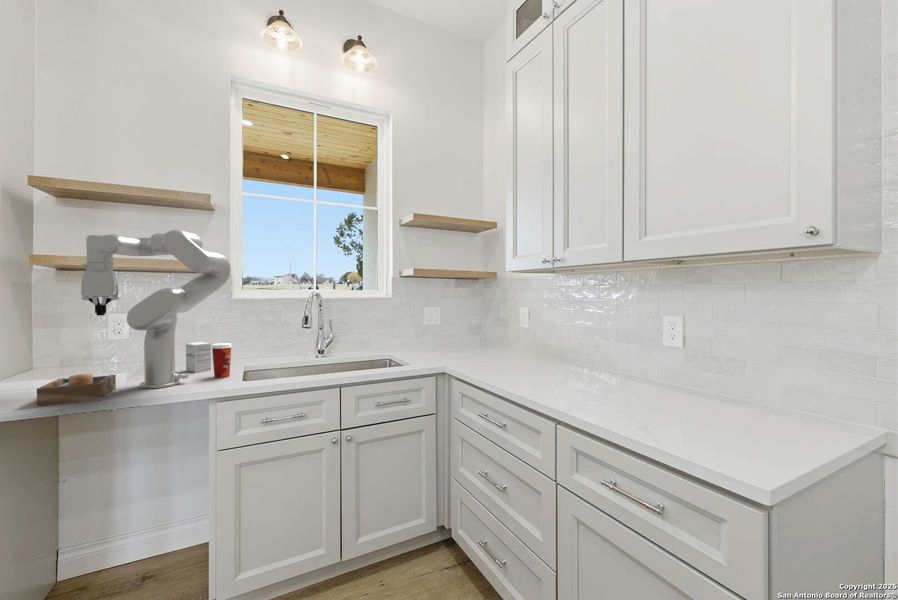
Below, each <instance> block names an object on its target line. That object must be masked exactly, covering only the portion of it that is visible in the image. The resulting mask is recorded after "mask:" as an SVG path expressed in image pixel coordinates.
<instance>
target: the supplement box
mask: <svg viewBox="0 0 898 600" xmlns="http://www.w3.org/2000/svg"><path fill="white" fill-rule="evenodd" d="M211 347H212V343H211V342H204V341H197V342H196V341H195V342H190V343H189V342H188V343H186V344H185V371H186V372H192V373H200V372H205V371H211V370H212V348H211Z"/></svg>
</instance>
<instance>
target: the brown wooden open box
mask: <svg viewBox="0 0 898 600" xmlns="http://www.w3.org/2000/svg"><path fill="white" fill-rule="evenodd" d="M115 375H116V374H109V375H106V376H107V377H106V378H104V379H103V380H101V381H99V382H98V383H96V384H85V385H72V386H61V385H63V384H65V379H66V378H63V377H61V378H58V379H55V380H53V381H51V382H49V383H46V384H44V385H42V386H40V387H38V388H36V406H37V407H42V406H43V407H44V406H51V405H52V406H53V405H64V404H75V403H84V402H85V403H87V402H95V401H102V400H103V399H105V398H106V397H107V396H109V395H110V394H111V393H113V392H114V391H115V390H116V389H117V385H116V384H117V382H115ZM113 390H114V391H113ZM112 391H113V392H112ZM110 392H111V393H110ZM109 393H110V394H109ZM108 394H109V395H108ZM106 395H107V396H106ZM105 396H106V397H105ZM104 397H105V398H104ZM102 398H103V399H102ZM101 399H102V400H101Z"/></svg>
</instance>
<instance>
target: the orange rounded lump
mask: <svg viewBox="0 0 898 600" xmlns="http://www.w3.org/2000/svg"><path fill="white" fill-rule="evenodd" d="M93 377H94V376H93V374H92V373H83V374H82V373H80V374H76V375H75V374H74V375H70V376H69V377H68V378H69V386H72V385H85V384H93Z"/></svg>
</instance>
